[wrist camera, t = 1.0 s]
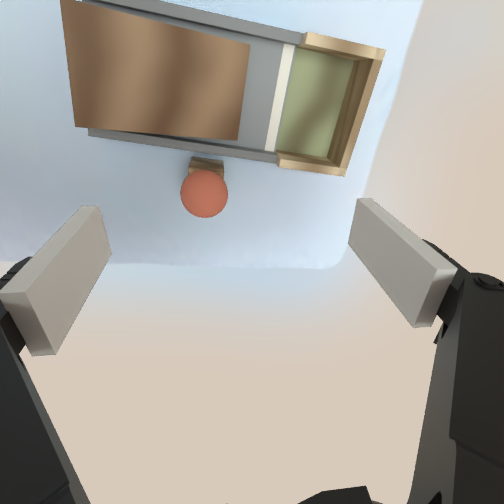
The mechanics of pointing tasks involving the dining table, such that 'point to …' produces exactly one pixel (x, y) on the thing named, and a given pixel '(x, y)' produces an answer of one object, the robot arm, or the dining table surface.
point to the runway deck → (256, 86)
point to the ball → (204, 193)
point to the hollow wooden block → (206, 166)
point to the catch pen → (326, 103)
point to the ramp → (151, 75)
